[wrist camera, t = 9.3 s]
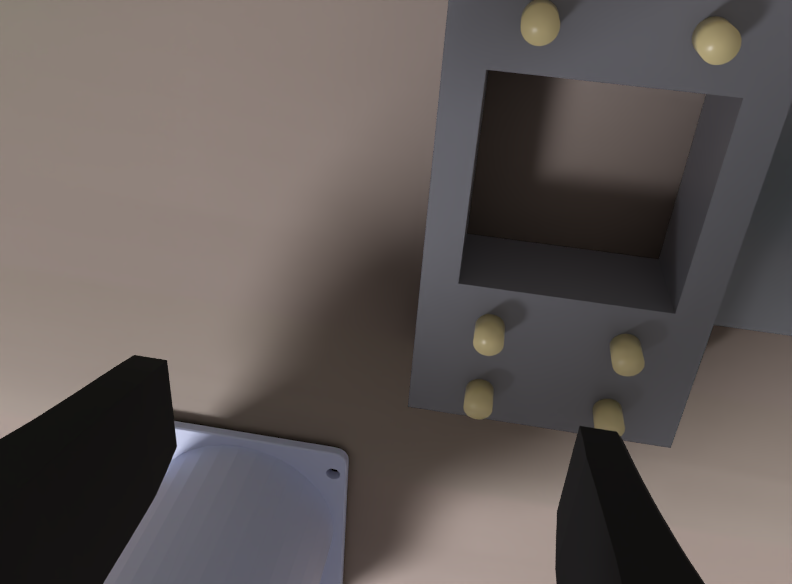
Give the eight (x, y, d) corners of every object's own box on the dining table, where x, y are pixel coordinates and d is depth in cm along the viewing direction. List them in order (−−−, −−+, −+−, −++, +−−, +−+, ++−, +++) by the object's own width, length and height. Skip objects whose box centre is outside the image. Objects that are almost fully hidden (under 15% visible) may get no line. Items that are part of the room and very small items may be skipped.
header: (655, 383, 24) (675, 467, 21) (421, 348, 25) (404, 424, 21) (819, -133, 16) (889, -130, 13) (475, -161, 17) (461, -164, 14)
